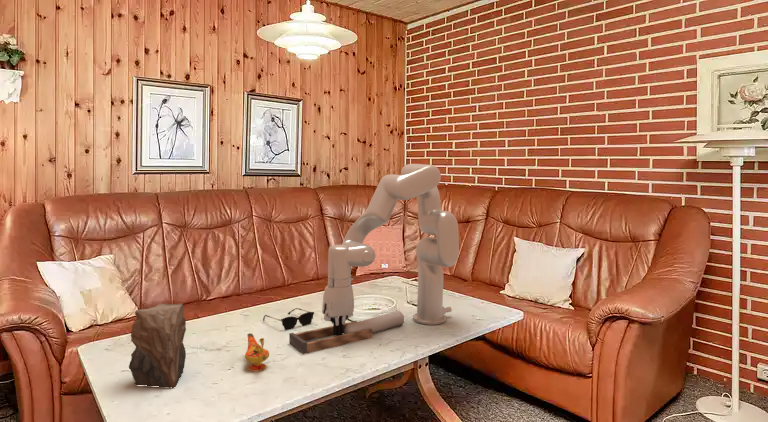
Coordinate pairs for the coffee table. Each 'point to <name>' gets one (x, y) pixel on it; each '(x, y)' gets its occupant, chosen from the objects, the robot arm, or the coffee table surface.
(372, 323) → the tube
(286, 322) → the sunglasses
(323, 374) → the coffee table surface
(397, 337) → the coffee table surface
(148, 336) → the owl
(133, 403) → the coffee table surface
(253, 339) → the magic lamp
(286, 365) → the coffee table surface
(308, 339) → the trap channel
